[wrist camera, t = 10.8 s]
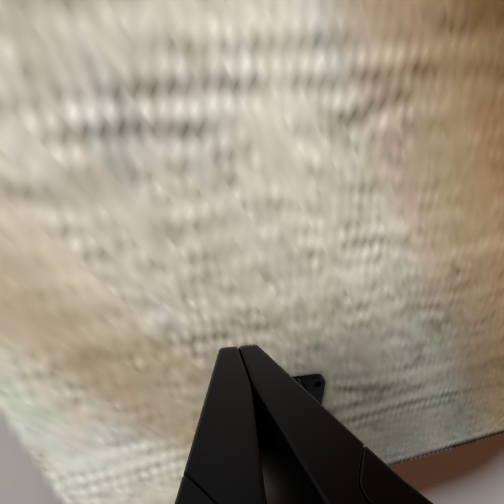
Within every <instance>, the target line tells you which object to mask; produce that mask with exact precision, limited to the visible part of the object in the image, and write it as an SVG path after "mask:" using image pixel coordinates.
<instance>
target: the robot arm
mask: <svg viewBox="0 0 504 504" xmlns="http://www.w3.org/2000/svg"><path fill="white" fill-rule="evenodd" d="M324 387H325V380H324V378H323V376H322V375H320V374H313V375H305V376H297V377H291V376H290V375H289V374H288V373H287V372H286V371H285V370H284V369H282V368H281V367H280V366H279V365H278V364H277V363H276V362H275V361H274V360H273V359H272V358H271V357H270V356H268V355H267V354H266V353H265V352H264V351H263V350H262V349H261V348H260V347H259V346H257V345H246V346H240V347H239V349H238V348H237V347H226V348H221V349H220V350H219V352H218V356H217V359H216V363H215V366H214V370H213V373H212V377H211V380H210V384H209V387H208V391H207V394H206V398H205V401H204V405H203V408H202V412H201V415H200V419H199V422H198V426H197V429H196V433H195V436H194V440H193V443H192V447H191V450H190V454H189V457H188V461H187V464H186V468H185V471H184V477H183V478H182V480H181V484H180V487H179V491H178V494H177V498H176V501H175V504H433V503H432V502H430V501H429V500H428V499H427V498H425V497H424V496H423V495H422V494H421V493H419V492H418V491H417V490H416V489H414V488H413V487H412V486H411V485H409V484H408V483H407V482H406V481H404V480H403V479H402V478H401V477H400V476H399V475H398V474H396V473H395V472H394V471H393V470H392V469H391V468H390V467H389V466H387V465H386V464H385V463H384V462H383V461H382V460H381V459H380V458H378V457H377V456H376V455H375V454H374V453H373V452H372V451H371V450H370V449H369V448H368V447H364V444H363V443H362V442H361V441H360V440H359V439H358V438H357V437H356V436H355V435H353V434H352V433H351V432H350V431H349V430H348V429H347V428H346V427H345V426H344V425H343V424H342V423H341V422H339V421H338V420H337V419H336V418H335V417H334V416H333V415H332V414H331V413H330V412H329V411H328V410H327V409H325V408H324V407H323V406H322V405H321V404H322V398H323V393H324Z"/></svg>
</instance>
